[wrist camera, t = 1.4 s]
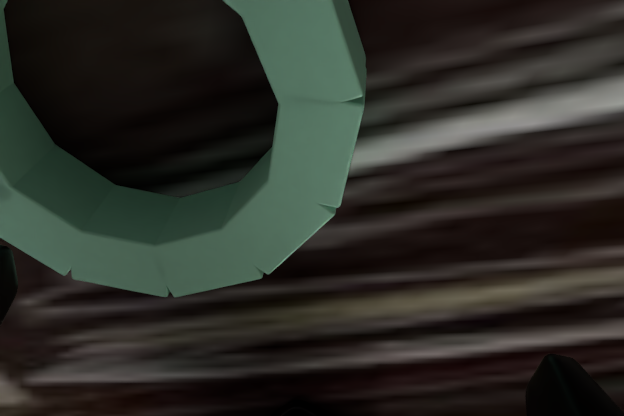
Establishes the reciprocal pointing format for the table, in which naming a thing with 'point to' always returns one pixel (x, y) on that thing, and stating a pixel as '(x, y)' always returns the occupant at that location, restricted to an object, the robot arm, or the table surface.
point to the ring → (209, 204)
